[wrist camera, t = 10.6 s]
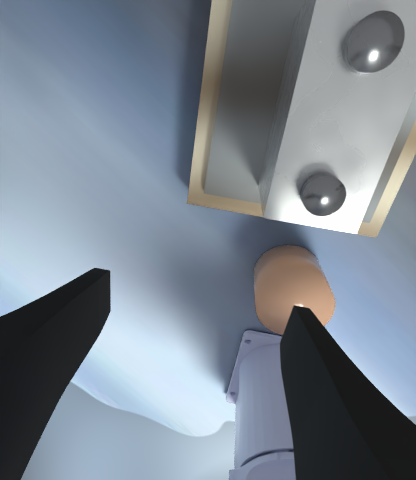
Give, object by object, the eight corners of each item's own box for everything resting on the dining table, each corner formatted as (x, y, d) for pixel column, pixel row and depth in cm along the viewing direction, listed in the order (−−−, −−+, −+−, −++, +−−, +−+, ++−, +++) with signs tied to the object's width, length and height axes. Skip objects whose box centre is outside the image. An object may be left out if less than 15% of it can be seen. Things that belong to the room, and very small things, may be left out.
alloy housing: (326, 196, 17) (361, 240, 12) (257, 185, 17) (264, 223, 12) (383, 29, 13) (468, -11, 8) (295, 16, 13) (326, -31, 8)
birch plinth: (364, 224, 20) (379, 241, 18) (192, 193, 20) (185, 206, 18) (459, 6, 14) (499, -10, 12) (221, -32, 15) (217, -54, 13)
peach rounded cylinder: (308, 304, 23) (320, 342, 20) (247, 293, 24) (248, 328, 20) (329, 251, 21) (347, 283, 18) (261, 239, 21) (265, 268, 18)
